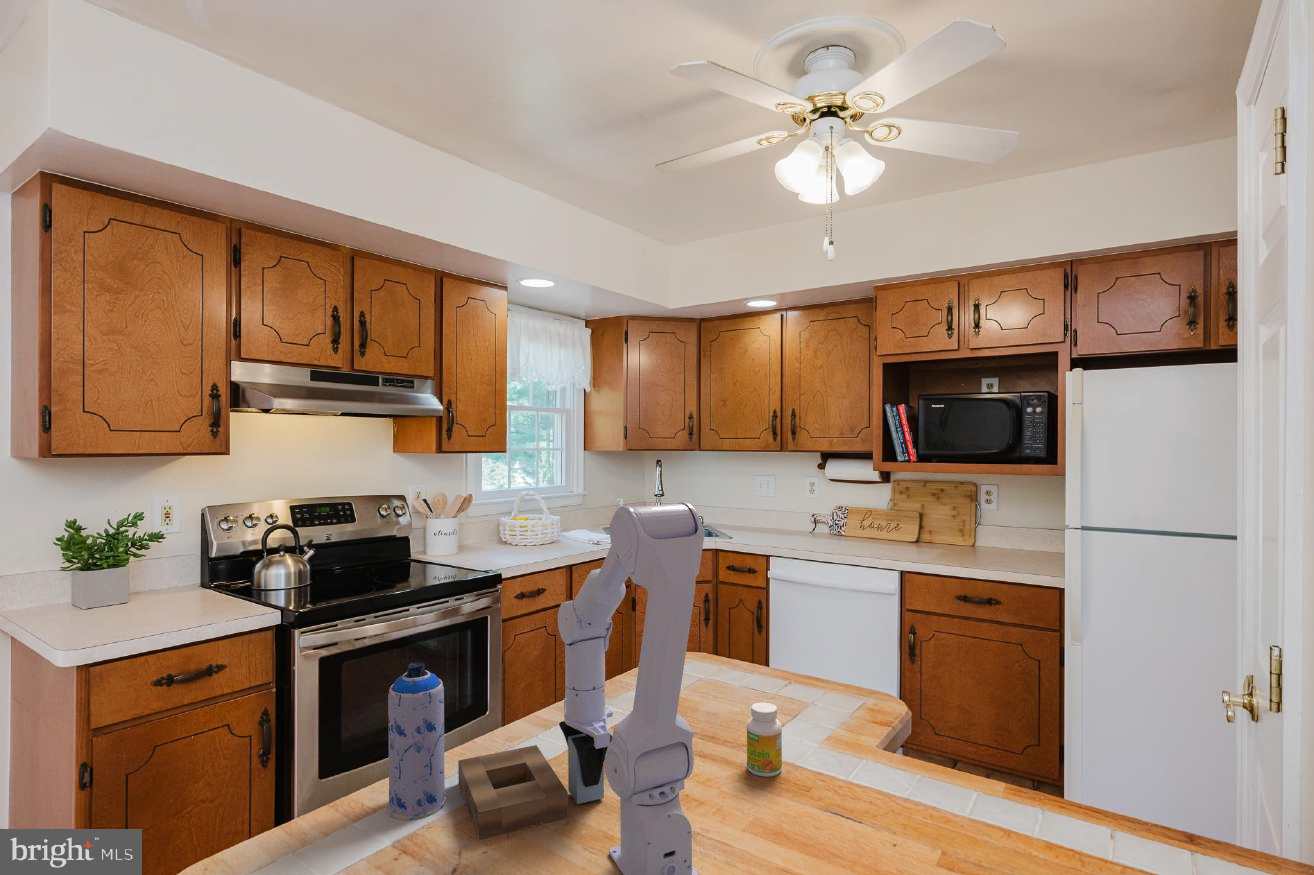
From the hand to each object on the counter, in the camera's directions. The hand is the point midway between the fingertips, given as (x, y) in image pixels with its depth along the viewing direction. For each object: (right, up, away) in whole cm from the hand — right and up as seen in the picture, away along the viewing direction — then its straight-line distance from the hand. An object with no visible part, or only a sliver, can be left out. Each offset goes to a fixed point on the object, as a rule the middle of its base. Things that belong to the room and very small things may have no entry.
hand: (585, 777), depth 101 cm
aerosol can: (-24, -3, -2) cm, 24 cm away
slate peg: (0, -2, 0) cm, 2 cm away
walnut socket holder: (-11, -3, -1) cm, 11 cm away
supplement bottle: (+27, -3, +8) cm, 28 cm away
